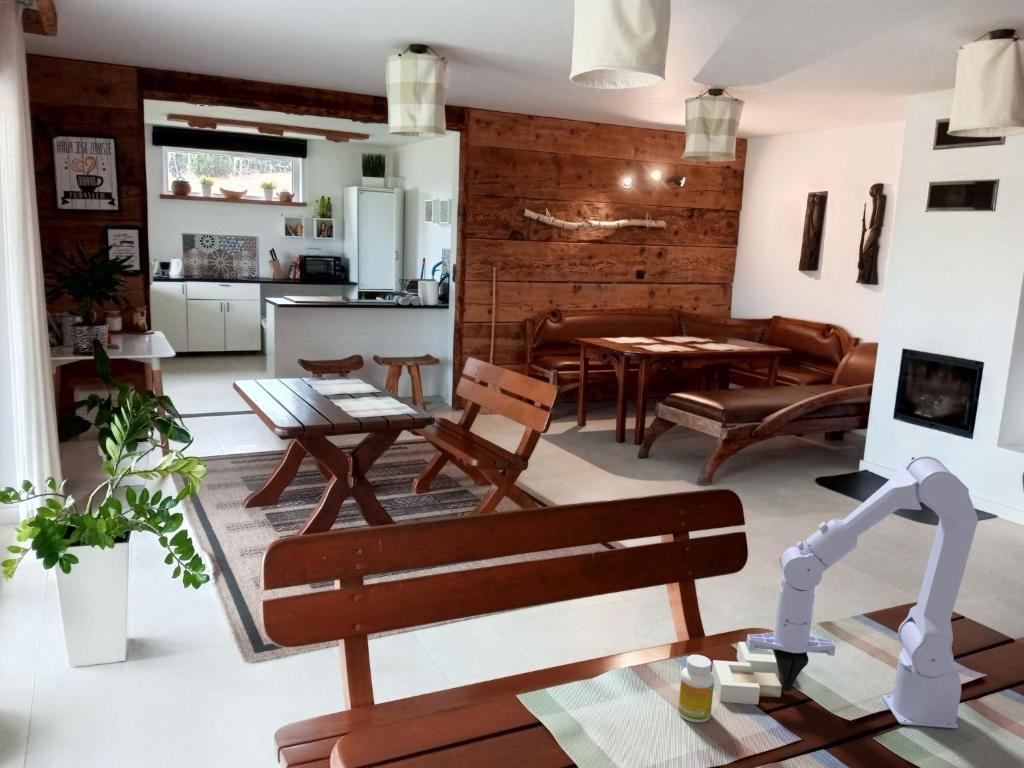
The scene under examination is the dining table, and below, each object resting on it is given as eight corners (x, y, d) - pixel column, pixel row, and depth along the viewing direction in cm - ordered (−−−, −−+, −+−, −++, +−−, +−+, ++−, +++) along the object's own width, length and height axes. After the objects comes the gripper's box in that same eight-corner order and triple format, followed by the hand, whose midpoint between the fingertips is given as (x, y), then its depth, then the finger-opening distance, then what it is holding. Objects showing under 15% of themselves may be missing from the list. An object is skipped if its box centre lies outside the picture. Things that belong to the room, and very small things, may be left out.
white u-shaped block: (736, 657, 153) (738, 641, 152) (779, 660, 153) (780, 644, 152) (744, 676, 147) (746, 660, 146) (788, 679, 146) (790, 663, 146)
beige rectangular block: (773, 685, 145) (774, 673, 144) (780, 698, 141) (781, 686, 140) (728, 683, 145) (730, 670, 144) (734, 696, 141) (735, 683, 140)
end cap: (747, 678, 146) (749, 662, 145) (758, 704, 138) (760, 687, 138) (711, 676, 146) (713, 660, 146) (719, 701, 138) (721, 684, 138)
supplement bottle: (711, 725, 132) (716, 671, 130) (677, 720, 133) (682, 666, 131) (709, 707, 137) (715, 654, 135) (677, 702, 138) (682, 650, 136)
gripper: (829, 608, 142) (820, 678, 145) (746, 602, 143) (738, 672, 146) (843, 628, 135) (833, 701, 138) (755, 622, 136) (747, 694, 139)
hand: (785, 687), depth 142 cm, fingers closed
